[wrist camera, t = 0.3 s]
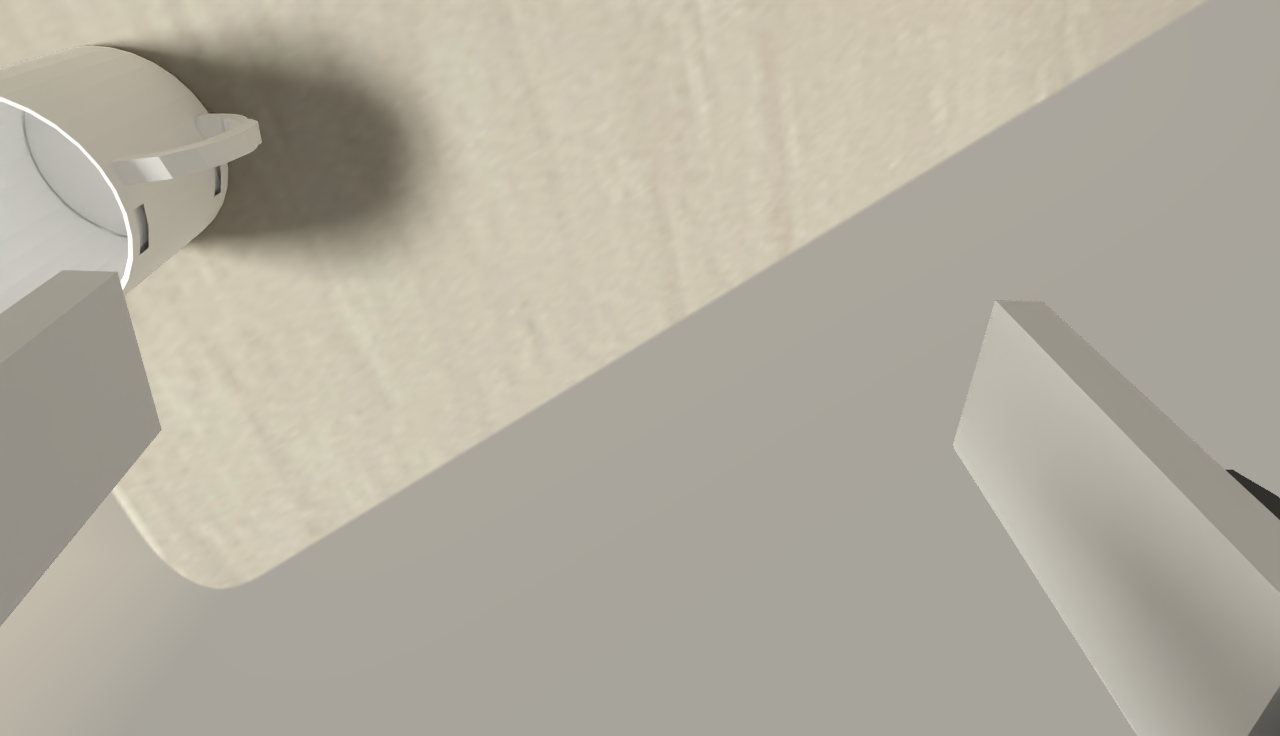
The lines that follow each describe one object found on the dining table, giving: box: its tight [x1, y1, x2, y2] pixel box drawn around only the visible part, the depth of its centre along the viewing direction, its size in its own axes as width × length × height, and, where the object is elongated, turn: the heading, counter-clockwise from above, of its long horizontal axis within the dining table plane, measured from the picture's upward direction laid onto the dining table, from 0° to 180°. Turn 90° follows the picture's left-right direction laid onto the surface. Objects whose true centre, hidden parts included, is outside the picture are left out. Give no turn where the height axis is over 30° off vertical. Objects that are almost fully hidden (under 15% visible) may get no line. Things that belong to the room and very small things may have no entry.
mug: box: [0, 45, 262, 314], centre depth 34 cm, size 12×9×9 cm
